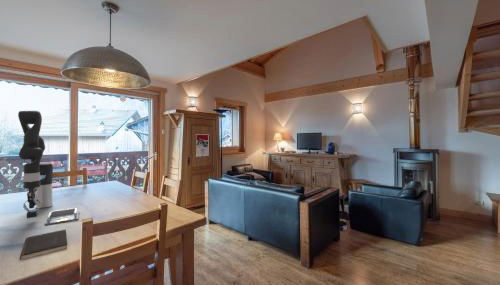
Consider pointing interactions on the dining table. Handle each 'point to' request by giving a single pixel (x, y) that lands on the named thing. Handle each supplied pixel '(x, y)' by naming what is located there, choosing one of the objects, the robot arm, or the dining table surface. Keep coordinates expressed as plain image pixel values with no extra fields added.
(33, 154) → the robot arm
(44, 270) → the dining table surface
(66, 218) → the rack
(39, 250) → the hardcover book
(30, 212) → the watch
